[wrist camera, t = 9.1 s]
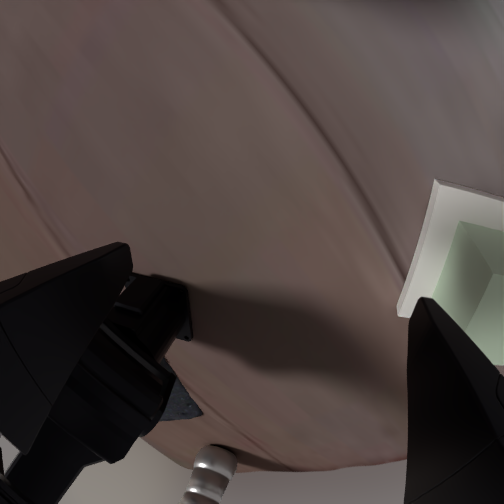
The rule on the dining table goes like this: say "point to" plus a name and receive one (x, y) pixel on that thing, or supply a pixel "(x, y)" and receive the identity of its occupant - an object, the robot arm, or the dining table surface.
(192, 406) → the dark slate chunk
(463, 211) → the tile
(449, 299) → the cube
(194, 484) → the plastic bottle
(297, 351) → the dining table surface
